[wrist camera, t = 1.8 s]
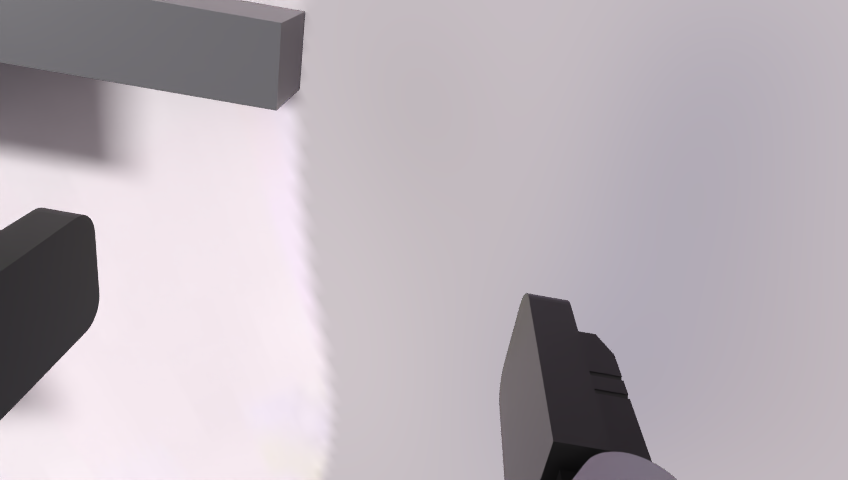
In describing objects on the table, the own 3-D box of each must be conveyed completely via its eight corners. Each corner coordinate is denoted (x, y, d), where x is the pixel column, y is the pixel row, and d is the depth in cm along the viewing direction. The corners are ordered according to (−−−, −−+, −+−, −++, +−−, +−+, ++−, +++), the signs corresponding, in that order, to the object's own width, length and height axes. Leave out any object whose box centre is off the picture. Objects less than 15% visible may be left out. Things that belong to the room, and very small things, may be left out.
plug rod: (-142, -67, 28) (-232, -67, 24) (305, 11, 28) (281, 22, 25) (-125, 15, 30) (-207, 26, 26) (299, 89, 30) (276, 110, 26)
